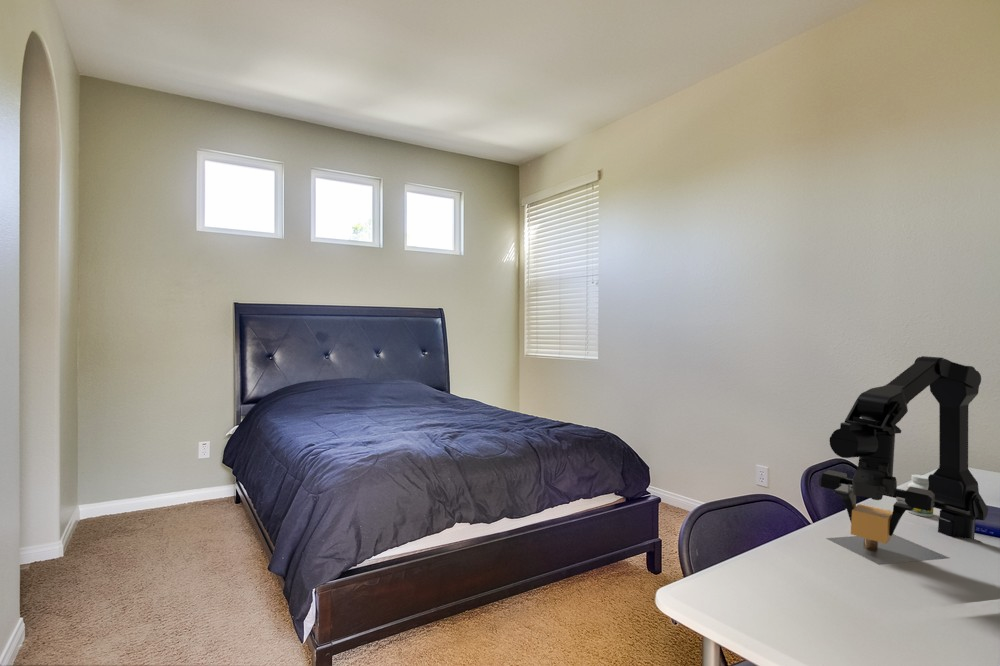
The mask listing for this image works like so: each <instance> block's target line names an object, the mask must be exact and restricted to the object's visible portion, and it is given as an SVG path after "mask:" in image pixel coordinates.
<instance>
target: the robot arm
mask: <svg viewBox="0 0 1000 666" xmlns="http://www.w3.org/2000/svg"><path fill="white" fill-rule="evenodd" d="M981 382H982V375H981V373H980V372H979V371H978V370H976V369H975V367H974V366H972V365H965V364H961V363H957V362H953V361H951V360H949V359H947V358H944V357H937V356H927V355H926V356H924V355H922V356H919V357H917V358H916V359H915V361H914V363H913V364H912V365H910V366H909V367H908V368H907V369H905V370H904V371H902V372H900V374H898V375H897V376H896V377H895V378H894V379H892V380H891V381H890V382H888V383H887V384H884V385H883V386H878V387H872V388H870V389H867V390H865V391H863V392H861V393H860V394H859V395H858V397H857V399H856V400H855V401H854V404H853V405H852V406H851V409H850V411H849V412H848V414H847V416H846V417H845V419H844V422H840V427H839V428H837V429H835V430H834V431H833V432H832V433H831V435H830V437H829V440H828V441H829V446H830V448H831V450H832V452H833V453H834V454H835V455H836V456H838V457H840V458H844V459H850V458H851V459H853V458H858V464H857V468H856V469H855V472H854V475H853V476H852V478H848V475H847V473H845V472H841V471H836V470H831V469H827V470H826V471H823V472H822V473H821V474H820V475H819V477H818V486H819V487H821V488H824V489H829V490H833V494H835V495H839V497H840V498H841V499H842V501H843V504H844V506H845V509H846V511H847V516H848V518H849V520H850V522H851V520H852V510H853V509H854V508H855V507H856V506H857V497H864V498H869V499H871V500H873V501H874V500H875V501H880V500H882V499H883V496H885V497H890V498H895V500H896V501H895V502H894V504H893V505H892V506H893V508H892V512H893V514H892V518H891V523H890V528H889V536H892V535H893V534H894V533H895V530H896V529H897V526H898V524H899V522H900V521H901V518H902V517H903V515H904V514H905V512H906V511H907V510H908V511H913V509H914V508H917V509H922V510H926V511H931V510H932V508H933V509H934V508H935V509H938V510H939V516H938V524H937V525H938V526H937V532H938V533H939V534H942V535H945V536H947V537H951V538H959V539H971V540H973V541H976V542H978V543H983V542H982V541H981V540H979V539H975V533H976V521H977V520H978V521H985V520H986V518H988V517H987V516H988V512H989V507H988V505H987V504H986V502H985V501H984V499H983V497H982V495H981V494H980V490H979V489H980V488H979V483H978V481H977V479H976V478H975V477H974V475H973V474H972V473H971V471H970V470H969V406H970V404H971V402H973V400H974V399H975V398H976V397H977V396H978V394H979V392H980V391H979V390H980V389H979V388H980V385H981V384H982V383H981ZM927 387H929V391H930V393H931V395H932V396H933V397H934V399H935V401H937V403H938V406H939V410H938V411H939V412H938V413H939V416H938V417H939V418H938V419H939V421H938V422H939V425H938V426H939V427H938V428H939V431H938V432H939V436H938V437H939V446H938V448H939V453H938V454H939V455H938V456H939V465H938V467H937V469H936V470H935V471H934V472H933V473H930V474H929V475H928V476H927V477H928V481H929V486H928V490H925V489H920V488H915V487H909V488H908V487H907V489H901V488H897V485H898V484H897V478H896V477H895V476H894V474H893V472H894V461H895V460H894V459H895V446H896V445H895V444H896V435H897V434H901V433H902V430H901V428H900V427H898V426H897V424H898V423H900V421H901V420H902V419H903V418H904V417H905V415H906V414H907V413H908V409H909V408H908V404H909V403H910V402H911V401H912V400H913V399H914V398H916V397H917V396H918V395H919V394H921V393H922V392H923V391H924V390H925V389H926V388H927ZM908 511H907V512H908Z"/></svg>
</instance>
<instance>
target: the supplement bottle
mask: <svg viewBox="0 0 1000 666" xmlns="http://www.w3.org/2000/svg"><path fill="white" fill-rule="evenodd" d="M928 477H929V476H927V475H922V474H911V479H910V480H911V482H908V485H907V489H908V488H909V487H915V488H920V489H925V490H928V486H929V481H928ZM906 511H907V513H910V514H912V515H915V516H918V517H926V518H931V517H933V516H934V508H932V510H931V511H926V510H922V509H917V508H914V509H913V511H908V510H906Z"/></svg>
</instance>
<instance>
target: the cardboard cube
mask: <svg viewBox="0 0 1000 666" xmlns="http://www.w3.org/2000/svg"><path fill="white" fill-rule="evenodd" d="M892 514H893V510H892V511H891V510H887V509H883V508H879V507H874V506H871V505H870V506H869V505H865V504H862V503H858V504H856V507H855V508H854V509H853V510H852V520H851V521H850V535H852V536H859V537H863V538H866V539H870V540H874V541H877V542H881V543H885V544H887V542H888V541H889V540H890V538H891V537H892V536H889V528H890V523H891V518H892Z"/></svg>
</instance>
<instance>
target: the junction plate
mask: <svg viewBox="0 0 1000 666" xmlns="http://www.w3.org/2000/svg"><path fill="white" fill-rule="evenodd" d="M825 539H826V540H828V541H830V542H832V543H834V544H836V545H838V546H840V547H842V548H845V549H847V550H849V551H850V552H852V553H854V554H857V555H859V556H861V557H863V558H865V559H867V560H869V561H871V562H873V563H874V564H877V565H887V564H899V563H908V562H909V563H910V562H921V561H922V562H923V561H931V560H932V561H934V560H943V559H950V556H946V555H944V554H943V553H940V552H937V551H935V550H932V549H930V548H928V547H925V546H922V545H920V544H918V543H915V542H913V541H910V540H909V539H906V538H904V537H901V536H899V535H897V534H894V533H893V535H892V537H891V538H890V540H889V541H888V542H887V544H885V543H881V542H878V551H869V550H866V549H864V548H863V544H864V538H863V537H859V536H856V535H852V536H839V537H826V538H825Z"/></svg>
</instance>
